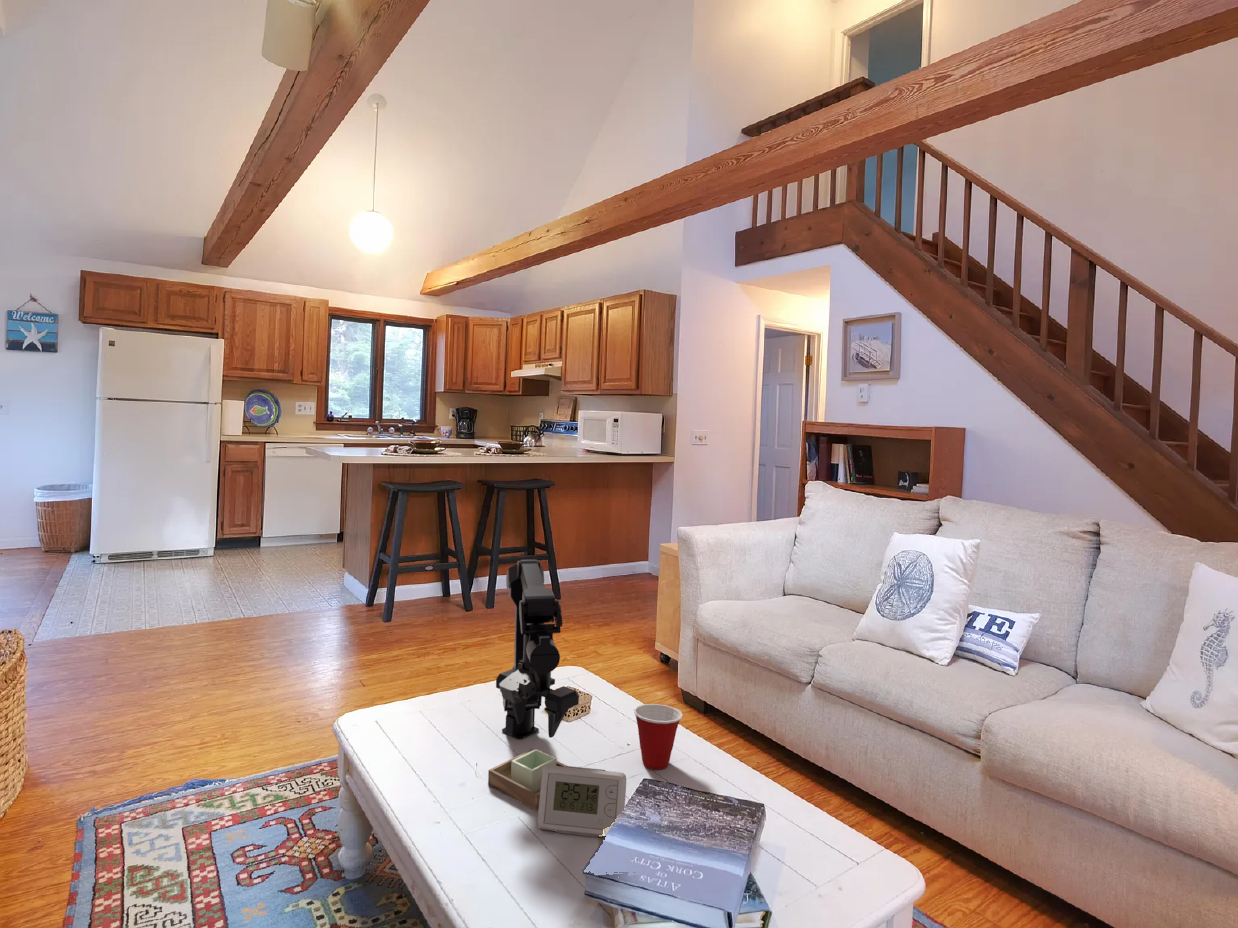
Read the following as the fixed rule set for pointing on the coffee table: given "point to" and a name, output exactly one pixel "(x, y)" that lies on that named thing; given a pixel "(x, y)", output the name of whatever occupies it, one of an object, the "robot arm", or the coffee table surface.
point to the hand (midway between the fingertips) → (535, 729)
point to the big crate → (514, 784)
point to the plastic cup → (656, 733)
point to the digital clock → (580, 799)
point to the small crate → (531, 769)
